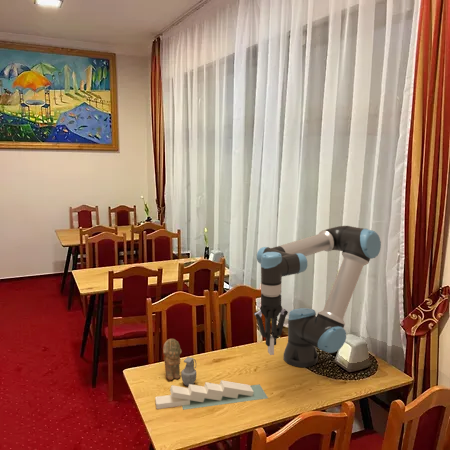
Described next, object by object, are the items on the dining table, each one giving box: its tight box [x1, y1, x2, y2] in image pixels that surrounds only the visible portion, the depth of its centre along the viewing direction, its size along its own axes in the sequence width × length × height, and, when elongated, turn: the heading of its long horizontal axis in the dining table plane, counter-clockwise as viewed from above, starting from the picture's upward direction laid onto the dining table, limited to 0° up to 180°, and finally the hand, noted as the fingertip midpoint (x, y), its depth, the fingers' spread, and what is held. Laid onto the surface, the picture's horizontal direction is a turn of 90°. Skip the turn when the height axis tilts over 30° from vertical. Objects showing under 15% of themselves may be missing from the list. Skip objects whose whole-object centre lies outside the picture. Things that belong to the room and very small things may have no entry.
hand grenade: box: [180, 356, 197, 387], centre depth 167 cm, size 6×6×11 cm
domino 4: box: [203, 381, 238, 398], centre depth 158 cm, size 2×5×12 cm
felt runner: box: [181, 384, 269, 411], centre depth 158 cm, size 32×10×1 cm, turn 104°
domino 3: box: [187, 384, 222, 401], centre depth 156 cm, size 2×5×12 cm
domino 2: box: [169, 385, 204, 402], centre depth 155 cm, size 2×5×12 cm
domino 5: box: [219, 380, 254, 396], centre depth 159 cm, size 2×5×12 cm
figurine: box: [162, 338, 182, 381], centre depth 173 cm, size 8×8×15 cm
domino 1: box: [154, 394, 190, 410], centre depth 154 cm, size 2×5×12 cm
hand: (270, 353), depth 161 cm, fingers closed
